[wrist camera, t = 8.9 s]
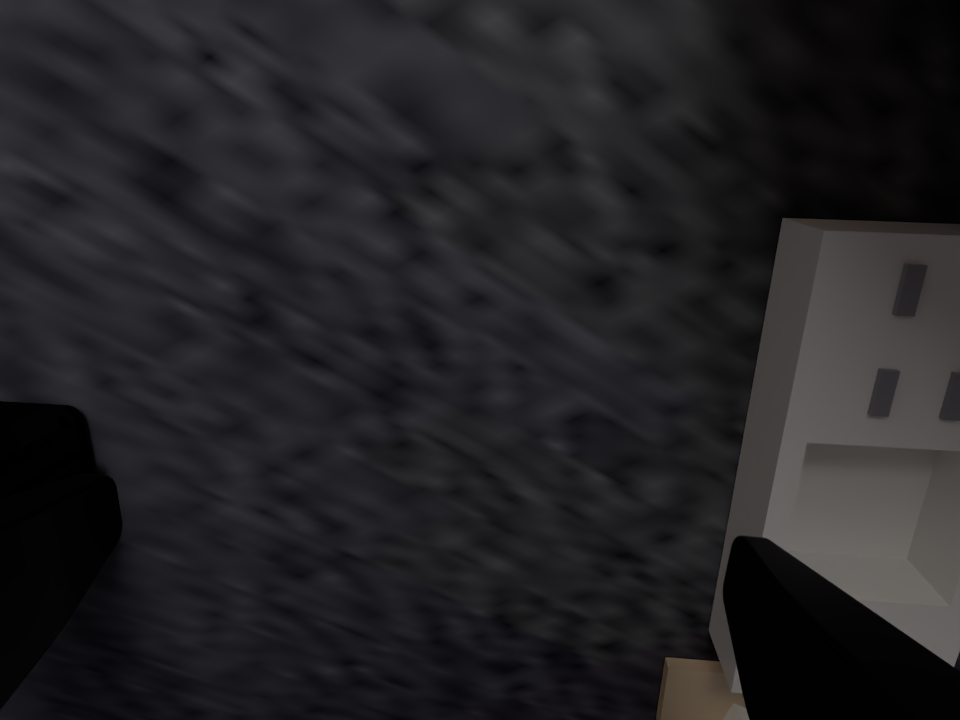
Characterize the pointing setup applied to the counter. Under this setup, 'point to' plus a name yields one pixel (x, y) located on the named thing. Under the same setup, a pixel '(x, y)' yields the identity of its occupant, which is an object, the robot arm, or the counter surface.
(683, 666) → the coaster
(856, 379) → the power strip
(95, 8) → the counter surface
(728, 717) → the charger
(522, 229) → the counter surface
